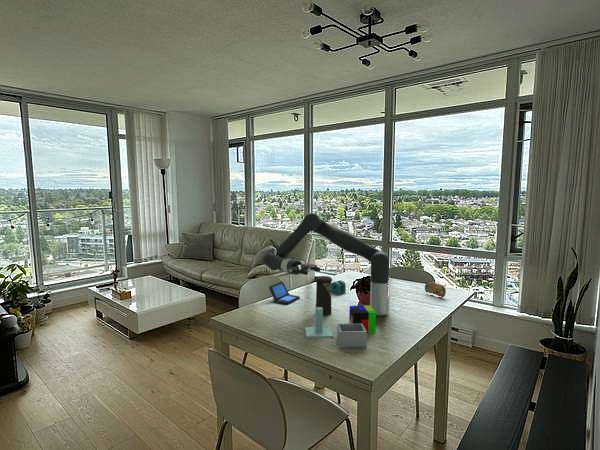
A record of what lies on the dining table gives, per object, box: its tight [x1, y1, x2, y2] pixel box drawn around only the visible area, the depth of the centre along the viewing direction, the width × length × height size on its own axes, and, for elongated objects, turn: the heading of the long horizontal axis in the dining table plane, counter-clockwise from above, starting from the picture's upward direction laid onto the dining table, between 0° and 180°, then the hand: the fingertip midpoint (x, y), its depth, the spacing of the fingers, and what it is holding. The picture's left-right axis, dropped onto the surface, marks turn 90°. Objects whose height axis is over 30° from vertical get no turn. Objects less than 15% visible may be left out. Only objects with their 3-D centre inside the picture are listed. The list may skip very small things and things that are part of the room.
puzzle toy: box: [348, 304, 377, 334], centre depth 162 cm, size 10×10×10 cm
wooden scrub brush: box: [424, 281, 447, 298], centre depth 215 cm, size 15×3×8 cm, turn 25°
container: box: [314, 275, 333, 317], centre depth 183 cm, size 9×9×20 cm
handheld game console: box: [268, 281, 301, 306], centre depth 206 cm, size 16×13×9 cm
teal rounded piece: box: [331, 280, 347, 296], centre depth 225 cm, size 18×7×8 cm, turn 42°
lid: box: [304, 306, 334, 339], centre depth 157 cm, size 12×10×12 cm
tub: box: [336, 323, 368, 349], centre depth 147 cm, size 11×9×7 cm
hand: (313, 271), depth 165 cm, fingers open, 8 cm apart
